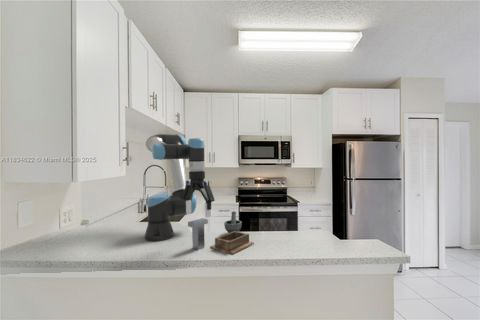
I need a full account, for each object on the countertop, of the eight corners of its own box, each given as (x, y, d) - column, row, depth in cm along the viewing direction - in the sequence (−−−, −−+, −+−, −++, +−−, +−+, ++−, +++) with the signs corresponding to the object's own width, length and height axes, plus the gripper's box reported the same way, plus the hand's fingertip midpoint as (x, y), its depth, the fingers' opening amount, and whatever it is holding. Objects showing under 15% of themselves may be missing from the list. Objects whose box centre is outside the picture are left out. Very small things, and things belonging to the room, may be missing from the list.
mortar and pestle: (241, 237, 130) (240, 215, 130) (223, 237, 130) (223, 215, 130) (242, 231, 141) (241, 210, 141) (226, 231, 142) (226, 210, 142)
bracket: (188, 249, 113) (187, 222, 113) (202, 244, 120) (202, 218, 120) (194, 251, 110) (193, 223, 110) (208, 245, 117) (207, 219, 117)
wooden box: (210, 248, 114) (210, 237, 114) (232, 239, 127) (232, 229, 127) (233, 254, 106) (232, 243, 106) (253, 244, 118) (253, 234, 118)
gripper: (174, 171, 120) (175, 213, 120) (209, 171, 105) (210, 219, 104) (186, 170, 126) (187, 211, 126) (221, 170, 110) (222, 216, 110)
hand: (198, 215), depth 115 cm, fingers open, 13 cm apart
